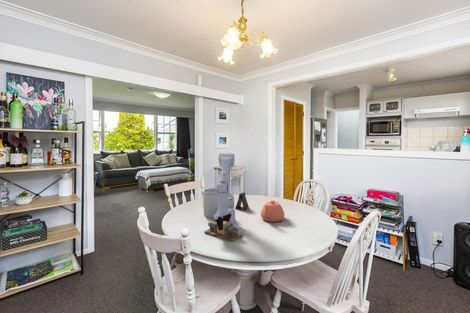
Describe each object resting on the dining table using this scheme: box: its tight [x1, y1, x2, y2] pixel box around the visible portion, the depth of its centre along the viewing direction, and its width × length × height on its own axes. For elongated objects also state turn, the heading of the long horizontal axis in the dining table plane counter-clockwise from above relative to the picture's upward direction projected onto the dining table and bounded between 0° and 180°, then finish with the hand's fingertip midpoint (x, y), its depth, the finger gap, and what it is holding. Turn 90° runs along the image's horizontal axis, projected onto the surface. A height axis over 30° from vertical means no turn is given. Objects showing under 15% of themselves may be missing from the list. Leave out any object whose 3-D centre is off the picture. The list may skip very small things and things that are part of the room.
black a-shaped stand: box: [234, 192, 250, 211], centre depth 176 cm, size 9×6×12 cm, turn 64°
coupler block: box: [217, 221, 228, 235], centre depth 129 cm, size 5×4×6 cm
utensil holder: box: [202, 187, 218, 219], centre depth 162 cm, size 15×15×18 cm
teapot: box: [260, 199, 285, 223], centre depth 153 cm, size 22×16×12 cm
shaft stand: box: [203, 220, 244, 243], centre depth 128 cm, size 20×9×6 cm, turn 55°
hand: (223, 228), depth 128 cm, fingers open, 5 cm apart
